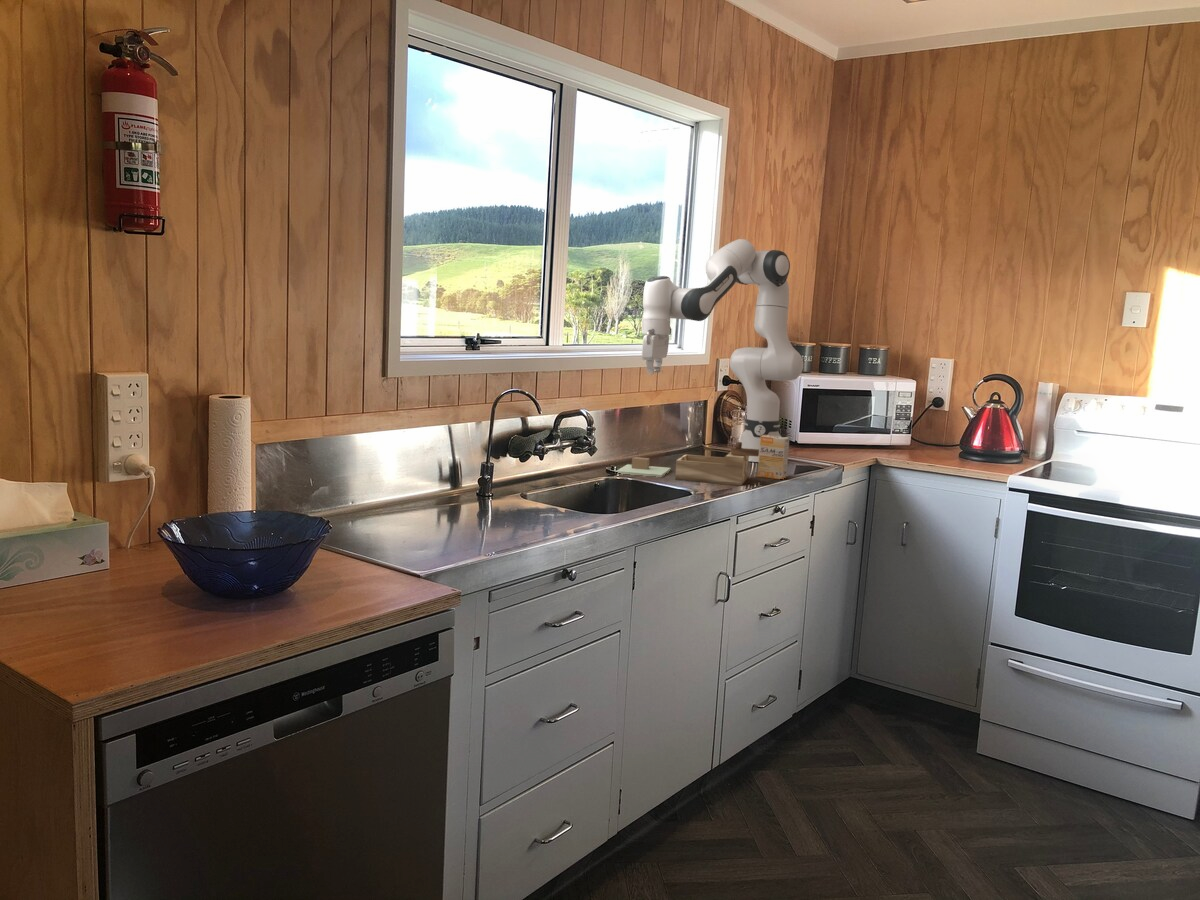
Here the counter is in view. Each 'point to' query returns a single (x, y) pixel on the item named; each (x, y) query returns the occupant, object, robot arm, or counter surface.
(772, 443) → the supplement box
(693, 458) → the toolbox
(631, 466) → the lid
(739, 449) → the brown stepped wooden block
